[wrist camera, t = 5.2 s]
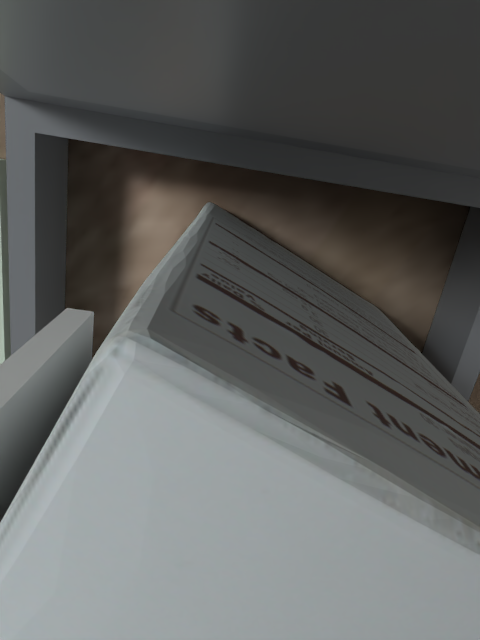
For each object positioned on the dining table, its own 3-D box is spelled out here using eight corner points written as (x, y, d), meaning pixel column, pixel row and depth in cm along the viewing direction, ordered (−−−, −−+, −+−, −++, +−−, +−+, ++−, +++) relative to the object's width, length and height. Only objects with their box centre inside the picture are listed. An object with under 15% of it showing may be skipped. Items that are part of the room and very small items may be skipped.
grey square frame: (42, 452, 18) (14, 493, 16) (44, 107, 14) (4, 96, 12) (392, 497, 19) (413, 543, 17) (500, 186, 15) (550, 190, 12)
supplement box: (269, 445, 18) (329, 1000, 6) (110, 358, 16) (-219, 860, 5) (382, 304, 16) (818, 735, 4) (211, 190, 14) (80, 323, 2)
